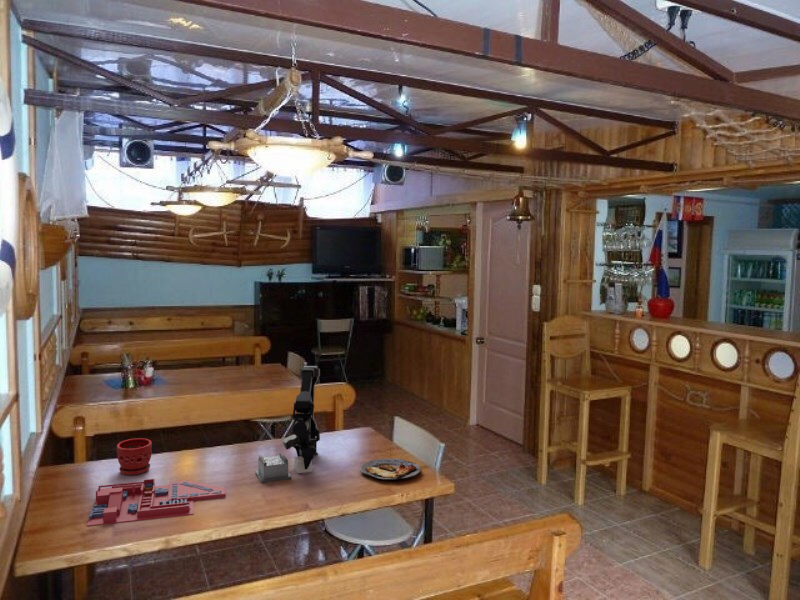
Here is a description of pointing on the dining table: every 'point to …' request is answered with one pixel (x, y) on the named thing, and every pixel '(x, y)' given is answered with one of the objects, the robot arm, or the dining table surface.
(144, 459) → the plant pot
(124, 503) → the red architectural model
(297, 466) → the plain white cube
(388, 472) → the food plate
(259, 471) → the motor housing
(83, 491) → the dining table surface
